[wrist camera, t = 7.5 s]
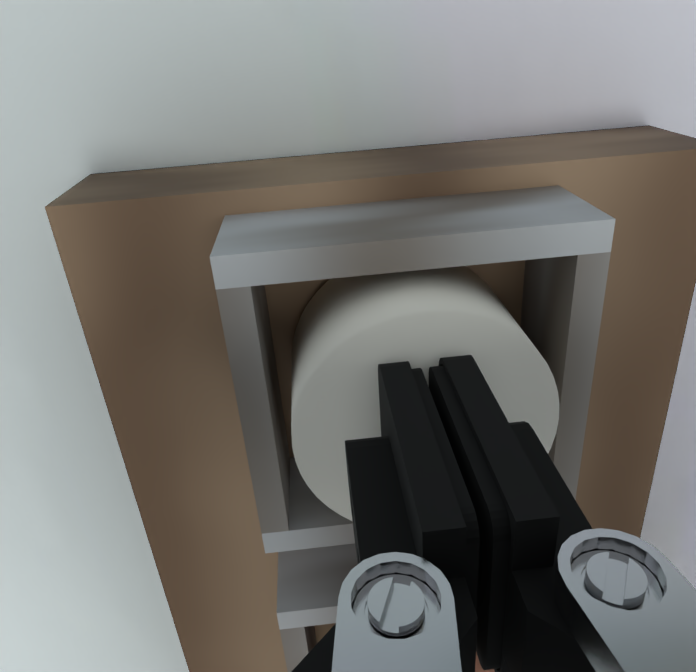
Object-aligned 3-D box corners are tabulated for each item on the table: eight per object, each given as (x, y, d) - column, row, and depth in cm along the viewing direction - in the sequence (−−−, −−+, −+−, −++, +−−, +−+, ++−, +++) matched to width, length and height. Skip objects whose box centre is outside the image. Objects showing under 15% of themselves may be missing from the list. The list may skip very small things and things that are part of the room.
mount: (649, 125, 15) (818, 172, 10) (554, 722, 27) (611, 874, 22) (90, 174, 14) (-13, 247, 10) (247, 761, 27) (237, 925, 22)
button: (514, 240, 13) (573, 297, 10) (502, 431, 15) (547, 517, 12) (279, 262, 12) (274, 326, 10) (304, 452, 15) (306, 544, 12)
